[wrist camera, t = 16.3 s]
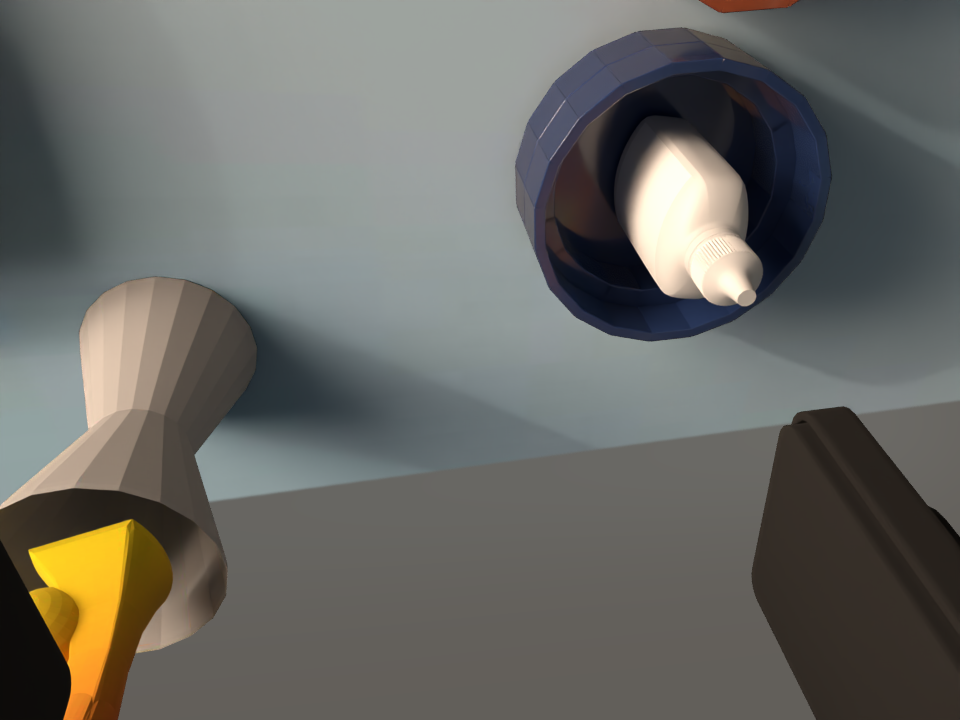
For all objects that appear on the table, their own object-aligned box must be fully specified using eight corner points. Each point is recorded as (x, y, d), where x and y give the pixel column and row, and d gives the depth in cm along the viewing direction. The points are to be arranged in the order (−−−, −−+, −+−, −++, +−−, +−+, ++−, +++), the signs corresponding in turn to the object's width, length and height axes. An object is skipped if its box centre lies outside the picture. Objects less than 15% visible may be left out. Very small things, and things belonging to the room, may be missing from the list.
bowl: (509, 38, 37) (532, 75, 32) (798, 13, 38) (859, 45, 33) (516, 296, 44) (536, 355, 40) (757, 269, 45) (802, 324, 41)
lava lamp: (213, 250, 40) (-101, 1392, 12) (288, 392, 46) (191, 1421, 17) (38, 305, 41) (-668, 1531, 12) (131, 439, 46) (-215, 1518, 18)
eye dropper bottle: (577, 191, 41) (651, 325, 31) (658, 96, 38) (765, 207, 29) (642, 237, 42) (730, 377, 33) (722, 149, 40) (842, 270, 30)
